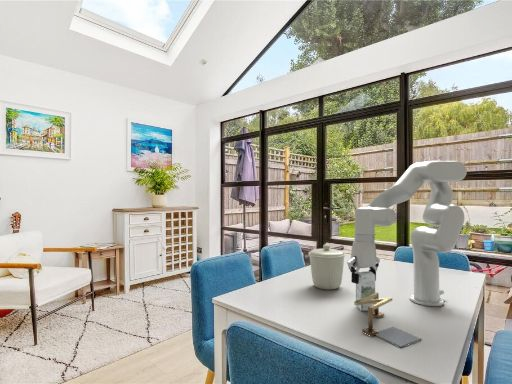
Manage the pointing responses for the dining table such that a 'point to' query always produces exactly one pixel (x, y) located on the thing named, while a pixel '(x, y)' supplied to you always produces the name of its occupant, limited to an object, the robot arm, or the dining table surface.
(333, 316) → the dining table surface
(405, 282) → the dining table surface
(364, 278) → the syrup box
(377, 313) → the accordion peg rack
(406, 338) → the slate mat
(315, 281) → the canister
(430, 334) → the dining table surface
